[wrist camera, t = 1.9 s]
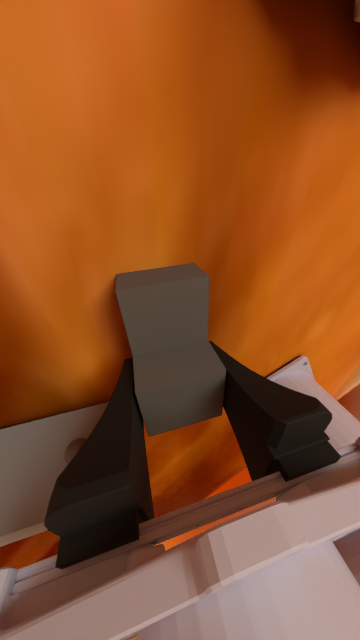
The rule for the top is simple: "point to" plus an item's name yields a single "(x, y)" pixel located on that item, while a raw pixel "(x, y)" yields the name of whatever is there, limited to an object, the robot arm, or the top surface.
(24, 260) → the top surface
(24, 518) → the door
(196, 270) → the doorstop wedge
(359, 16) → the decorative rock
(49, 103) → the top surface
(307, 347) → the top surface
